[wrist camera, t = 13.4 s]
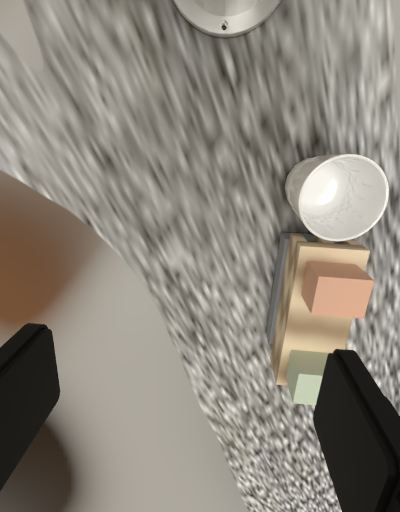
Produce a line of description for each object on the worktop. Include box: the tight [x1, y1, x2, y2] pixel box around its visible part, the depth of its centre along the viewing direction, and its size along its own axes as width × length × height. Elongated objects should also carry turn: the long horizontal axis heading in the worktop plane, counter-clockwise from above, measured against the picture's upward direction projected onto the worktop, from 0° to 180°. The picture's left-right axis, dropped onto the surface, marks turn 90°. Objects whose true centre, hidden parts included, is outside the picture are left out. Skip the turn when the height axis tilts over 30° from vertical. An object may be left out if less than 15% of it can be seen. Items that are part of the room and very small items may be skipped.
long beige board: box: [270, 233, 370, 385], centre depth 37 cm, size 18×7×5 cm, turn 177°
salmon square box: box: [301, 261, 374, 318], centre depth 31 cm, size 4×5×4 cm
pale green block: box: [286, 350, 329, 405], centre depth 35 cm, size 4×5×4 cm
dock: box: [266, 232, 339, 345], centre depth 40 cm, size 15×8×3 cm, turn 177°
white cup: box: [285, 154, 389, 241], centre depth 33 cm, size 8×8×10 cm
